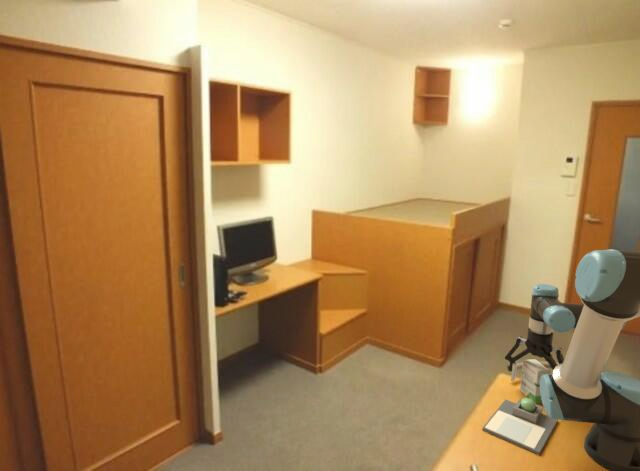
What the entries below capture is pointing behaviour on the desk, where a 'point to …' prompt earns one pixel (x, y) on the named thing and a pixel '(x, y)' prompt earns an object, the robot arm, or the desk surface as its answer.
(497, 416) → the colouring board
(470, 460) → the desk surface
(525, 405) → the button
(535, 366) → the ink box
